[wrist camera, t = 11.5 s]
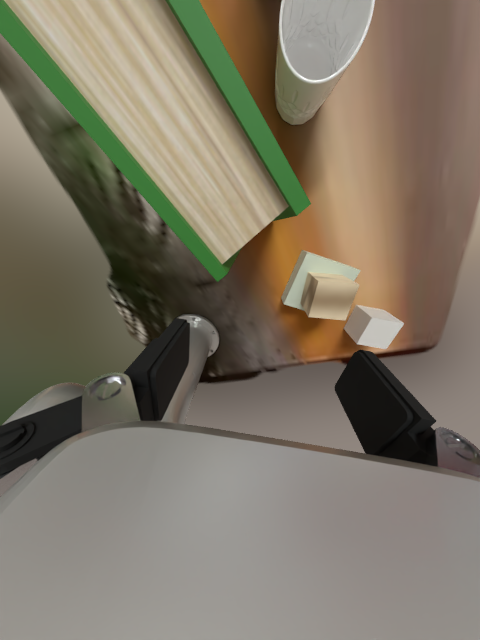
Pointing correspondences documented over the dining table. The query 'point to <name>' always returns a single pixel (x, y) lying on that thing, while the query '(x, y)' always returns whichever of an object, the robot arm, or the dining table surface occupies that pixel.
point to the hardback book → (163, 113)
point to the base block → (312, 264)
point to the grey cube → (372, 327)
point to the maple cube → (328, 295)
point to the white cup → (315, 51)
